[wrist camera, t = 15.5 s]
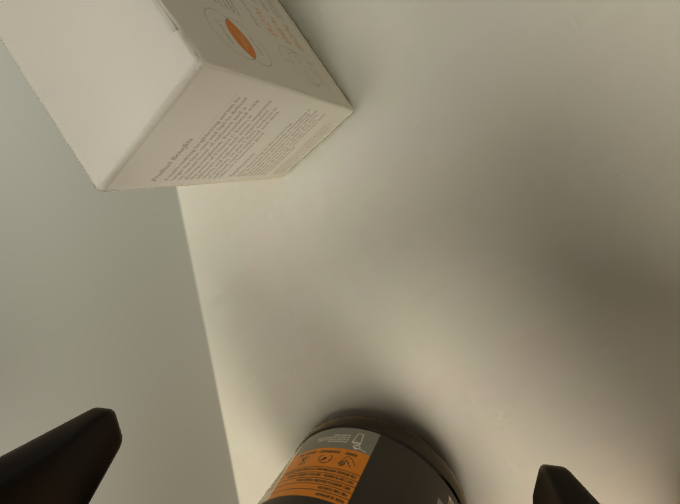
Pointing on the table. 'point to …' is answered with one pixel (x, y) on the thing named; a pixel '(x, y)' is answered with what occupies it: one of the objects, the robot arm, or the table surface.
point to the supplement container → (364, 467)
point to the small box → (174, 87)
